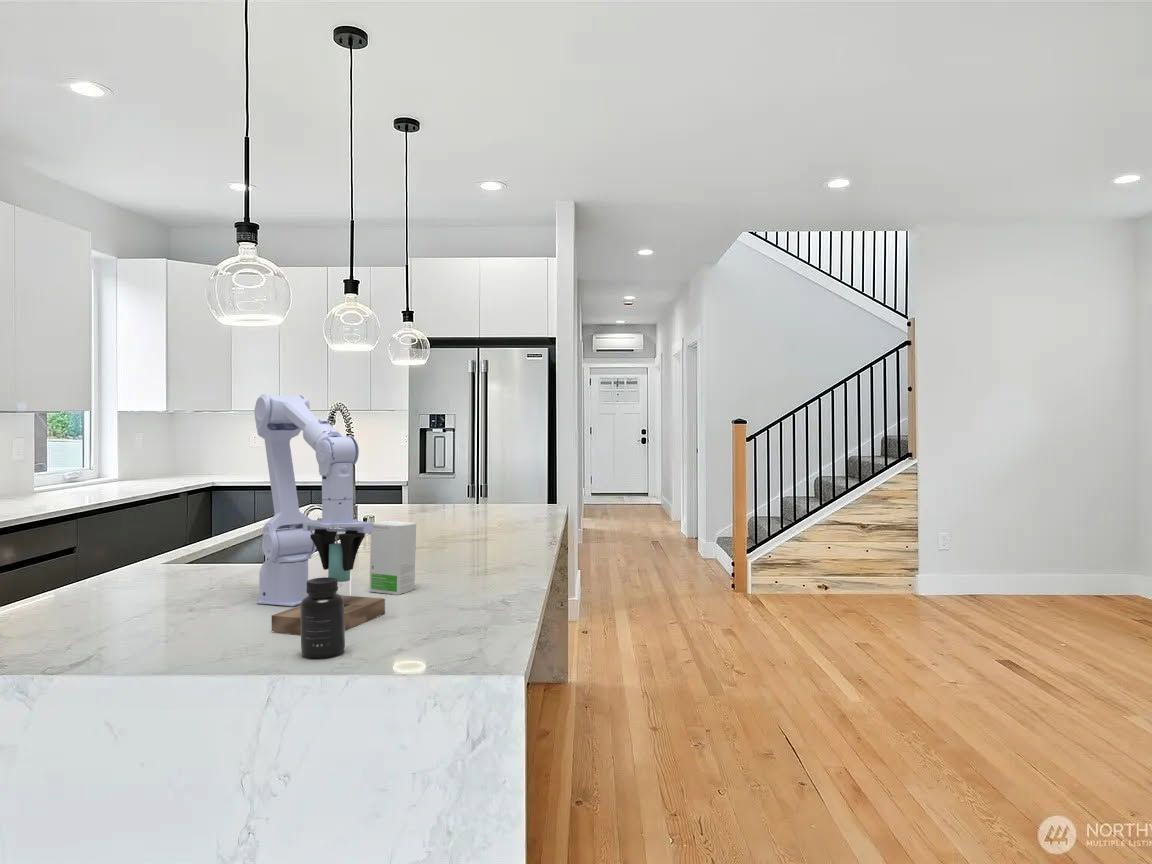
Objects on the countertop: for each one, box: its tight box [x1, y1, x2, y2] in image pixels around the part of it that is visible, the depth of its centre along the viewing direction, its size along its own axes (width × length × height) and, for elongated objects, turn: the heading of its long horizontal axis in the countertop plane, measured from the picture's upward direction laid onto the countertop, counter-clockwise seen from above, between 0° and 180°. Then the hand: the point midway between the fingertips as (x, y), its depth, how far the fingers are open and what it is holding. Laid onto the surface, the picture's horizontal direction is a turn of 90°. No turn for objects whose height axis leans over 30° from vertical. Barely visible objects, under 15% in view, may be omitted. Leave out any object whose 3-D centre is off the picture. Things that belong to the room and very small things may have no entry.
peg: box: [327, 542, 351, 583], centre depth 146 cm, size 4×4×7 cm
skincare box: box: [369, 519, 417, 596], centre depth 171 cm, size 8×7×16 cm
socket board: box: [271, 594, 386, 636], centre depth 143 cm, size 12×18×3 cm, turn 162°
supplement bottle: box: [299, 576, 346, 660], centre depth 123 cm, size 7×7×12 cm
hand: (338, 569), depth 146 cm, fingers closed on peg, 4 cm apart
